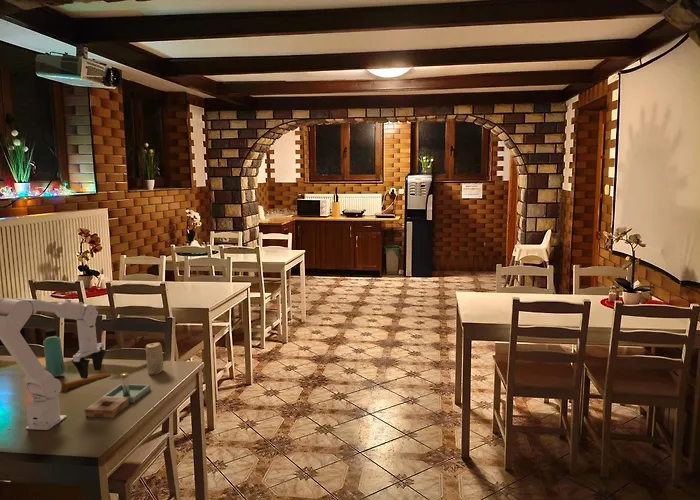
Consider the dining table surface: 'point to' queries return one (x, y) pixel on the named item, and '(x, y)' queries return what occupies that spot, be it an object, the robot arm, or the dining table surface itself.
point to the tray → (135, 392)
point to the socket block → (106, 407)
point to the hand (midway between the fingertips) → (91, 374)
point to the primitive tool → (83, 381)
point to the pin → (125, 384)
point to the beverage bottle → (53, 353)
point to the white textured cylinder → (154, 358)
